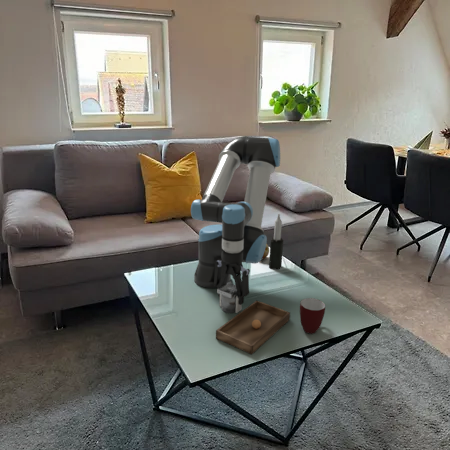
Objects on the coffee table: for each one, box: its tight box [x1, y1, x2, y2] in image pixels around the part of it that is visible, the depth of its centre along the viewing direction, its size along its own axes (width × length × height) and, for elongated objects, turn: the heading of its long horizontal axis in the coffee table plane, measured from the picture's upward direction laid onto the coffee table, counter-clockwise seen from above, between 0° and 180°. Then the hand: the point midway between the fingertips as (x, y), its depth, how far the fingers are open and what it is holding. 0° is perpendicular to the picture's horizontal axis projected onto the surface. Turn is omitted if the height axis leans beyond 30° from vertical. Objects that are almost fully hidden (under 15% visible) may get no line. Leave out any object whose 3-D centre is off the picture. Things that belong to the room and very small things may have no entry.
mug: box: [299, 297, 326, 335], centre depth 138 cm, size 10×8×10 cm
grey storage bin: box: [216, 281, 238, 314], centre depth 150 cm, size 6×8×8 cm
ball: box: [252, 320, 261, 329], centre depth 138 cm, size 3×3×3 cm
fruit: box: [261, 243, 270, 260], centre depth 193 cm, size 8×8×8 cm
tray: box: [215, 300, 291, 356], centre depth 138 cm, size 14×25×3 cm, turn 144°
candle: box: [268, 213, 284, 271], centre depth 182 cm, size 5×5×25 cm
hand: (230, 308), depth 151 cm, fingers closed on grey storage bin, 6 cm apart
